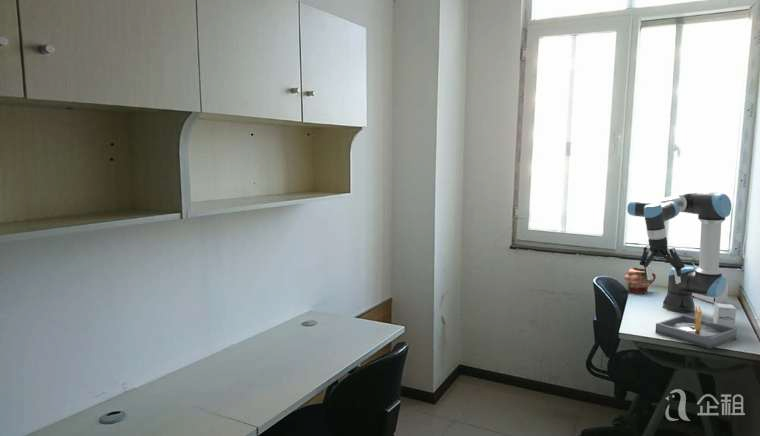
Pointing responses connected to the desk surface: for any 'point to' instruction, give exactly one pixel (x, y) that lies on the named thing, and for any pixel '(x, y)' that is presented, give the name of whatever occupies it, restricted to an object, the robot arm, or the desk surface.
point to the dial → (697, 326)
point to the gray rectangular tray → (722, 334)
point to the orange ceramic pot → (638, 280)
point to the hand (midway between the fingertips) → (663, 281)
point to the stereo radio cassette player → (720, 299)
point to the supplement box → (724, 315)
